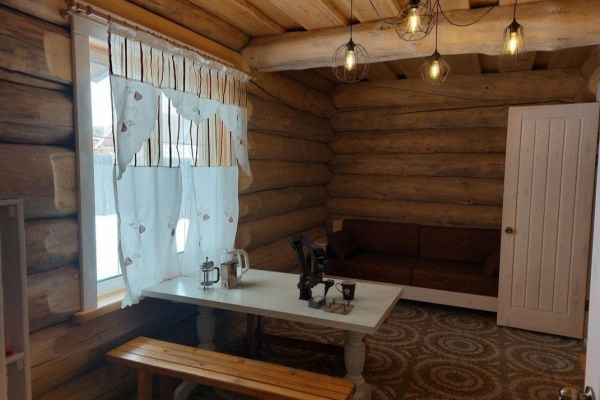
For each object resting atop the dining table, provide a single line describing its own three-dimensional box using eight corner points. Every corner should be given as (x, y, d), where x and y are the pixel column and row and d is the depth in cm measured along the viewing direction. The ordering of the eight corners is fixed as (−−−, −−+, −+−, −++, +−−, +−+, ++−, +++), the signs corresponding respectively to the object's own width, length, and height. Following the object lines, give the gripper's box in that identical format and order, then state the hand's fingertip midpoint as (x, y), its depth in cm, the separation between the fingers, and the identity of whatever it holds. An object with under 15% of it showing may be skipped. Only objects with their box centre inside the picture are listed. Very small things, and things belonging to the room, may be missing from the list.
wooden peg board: (323, 311, 222) (323, 304, 222) (332, 303, 235) (332, 296, 234) (346, 315, 217) (346, 308, 216) (354, 306, 229) (354, 299, 229)
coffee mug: (358, 298, 243) (358, 282, 242) (349, 302, 237) (349, 285, 236) (343, 293, 251) (343, 278, 250) (334, 297, 245) (334, 281, 244)
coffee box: (230, 284, 270) (229, 260, 269) (237, 285, 267) (237, 261, 265) (220, 287, 262) (220, 263, 261) (228, 289, 259) (227, 264, 257)
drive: (308, 307, 229) (308, 300, 228) (317, 302, 237) (317, 295, 237) (317, 309, 225) (317, 302, 225) (326, 304, 234) (326, 297, 233)
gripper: (296, 271, 226) (296, 298, 227) (327, 275, 218) (327, 303, 220) (304, 266, 236) (304, 292, 237) (335, 269, 228) (334, 296, 230)
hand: (317, 296), depth 231 cm, fingers open, 9 cm apart
